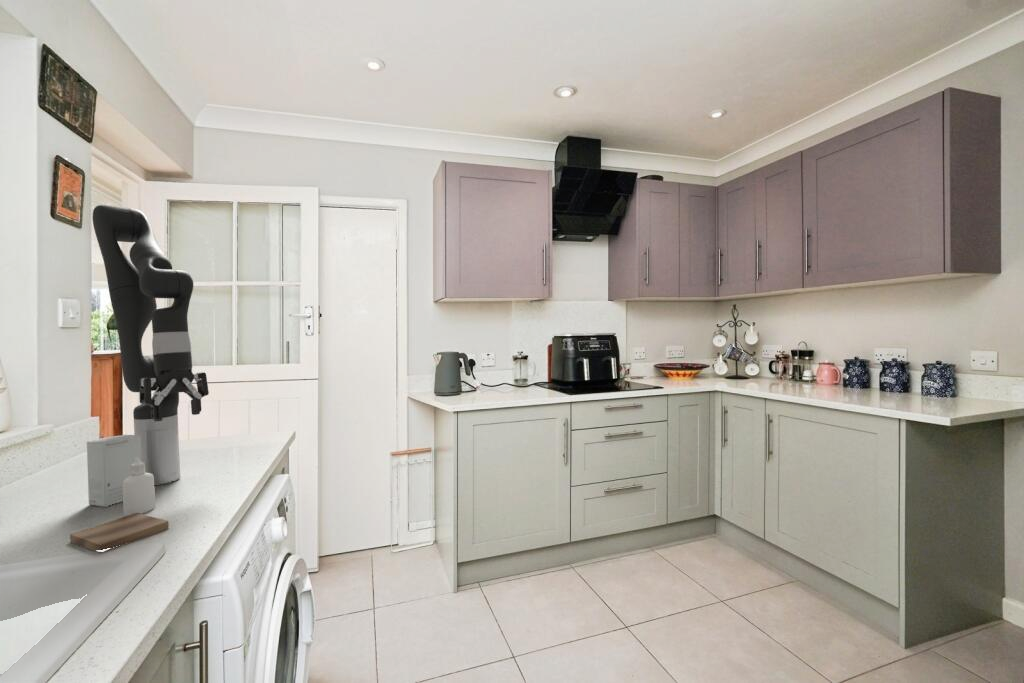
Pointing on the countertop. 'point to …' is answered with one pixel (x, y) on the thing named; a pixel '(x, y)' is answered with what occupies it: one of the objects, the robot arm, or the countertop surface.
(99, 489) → the skincare box
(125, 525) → the walnut board
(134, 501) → the eye dropper bottle
